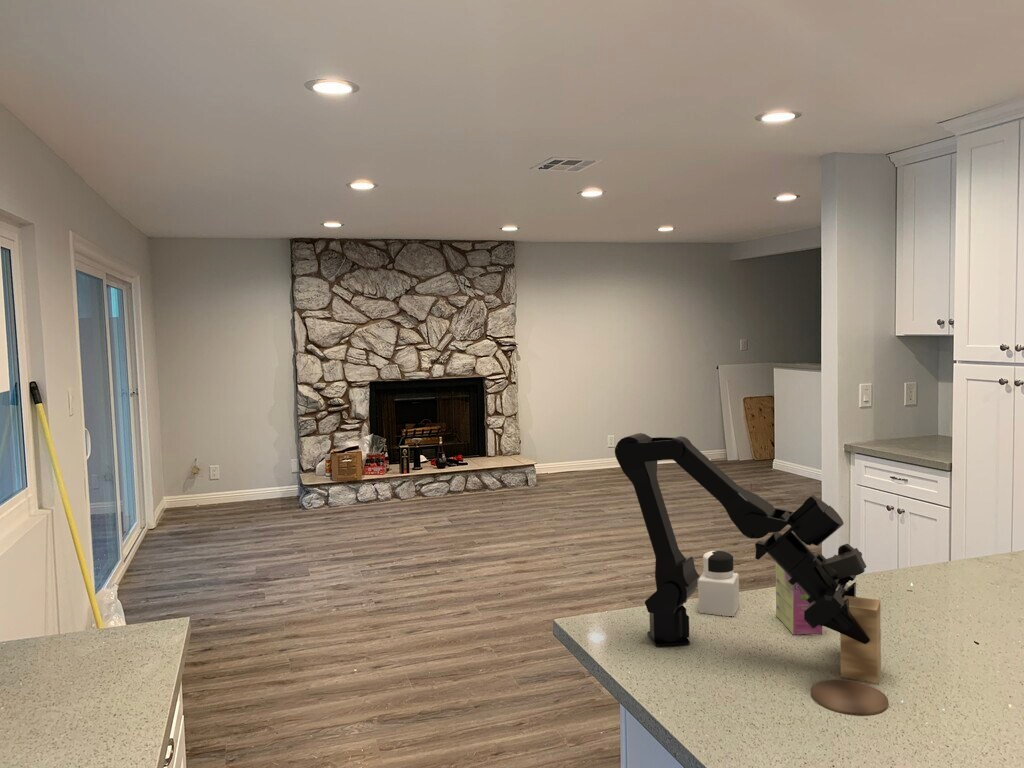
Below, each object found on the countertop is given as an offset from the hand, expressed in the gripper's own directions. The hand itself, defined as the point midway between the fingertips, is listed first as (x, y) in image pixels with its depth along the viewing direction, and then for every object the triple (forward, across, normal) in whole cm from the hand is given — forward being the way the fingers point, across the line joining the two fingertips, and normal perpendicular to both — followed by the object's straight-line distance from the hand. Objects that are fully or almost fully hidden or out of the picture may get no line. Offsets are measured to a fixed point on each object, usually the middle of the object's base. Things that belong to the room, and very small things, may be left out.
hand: (869, 636), depth 127 cm
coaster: (+3, -10, +6) cm, 12 cm away
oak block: (+4, 0, +6) cm, 7 cm away
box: (-6, +18, +15) cm, 24 cm away
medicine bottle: (-17, +20, +27) cm, 37 cm away
